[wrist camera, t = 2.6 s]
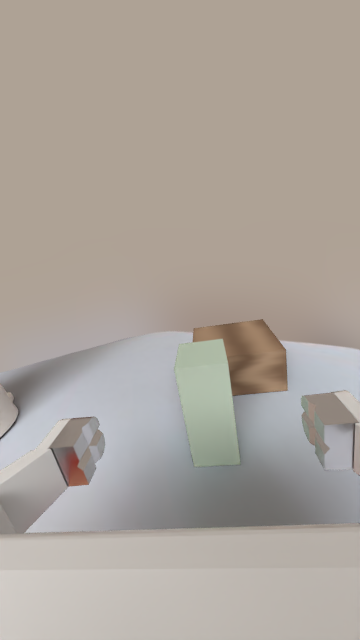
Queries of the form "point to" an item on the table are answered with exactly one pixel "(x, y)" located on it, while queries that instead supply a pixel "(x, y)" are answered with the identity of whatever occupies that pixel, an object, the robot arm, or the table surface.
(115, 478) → the table surface
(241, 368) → the walnut block
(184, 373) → the sage block
